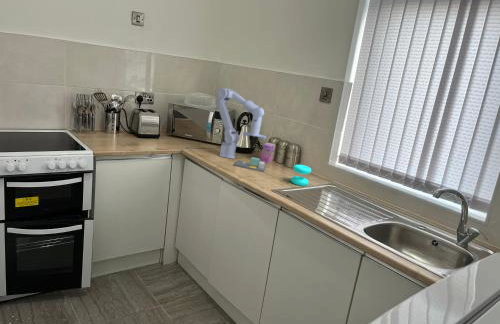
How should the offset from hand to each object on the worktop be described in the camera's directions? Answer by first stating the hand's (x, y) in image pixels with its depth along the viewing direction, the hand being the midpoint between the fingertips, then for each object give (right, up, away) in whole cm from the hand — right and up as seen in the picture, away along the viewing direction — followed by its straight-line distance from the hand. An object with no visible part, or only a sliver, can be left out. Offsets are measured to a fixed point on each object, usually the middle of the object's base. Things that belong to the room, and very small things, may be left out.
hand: (251, 148), depth 240 cm
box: (+10, -8, +14) cm, 19 cm away
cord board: (-1, -11, -8) cm, 14 cm away
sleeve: (+2, -10, -8) cm, 13 cm away
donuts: (+26, -21, -24) cm, 42 cm away
